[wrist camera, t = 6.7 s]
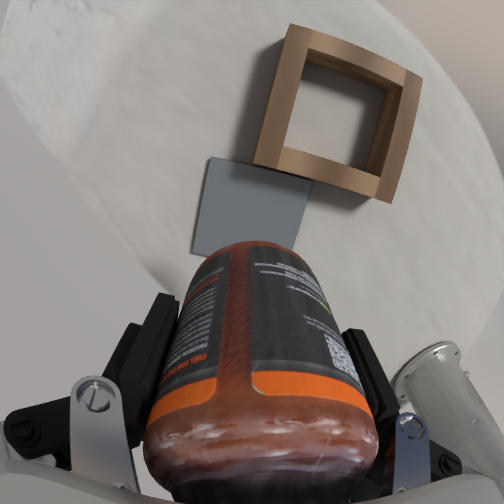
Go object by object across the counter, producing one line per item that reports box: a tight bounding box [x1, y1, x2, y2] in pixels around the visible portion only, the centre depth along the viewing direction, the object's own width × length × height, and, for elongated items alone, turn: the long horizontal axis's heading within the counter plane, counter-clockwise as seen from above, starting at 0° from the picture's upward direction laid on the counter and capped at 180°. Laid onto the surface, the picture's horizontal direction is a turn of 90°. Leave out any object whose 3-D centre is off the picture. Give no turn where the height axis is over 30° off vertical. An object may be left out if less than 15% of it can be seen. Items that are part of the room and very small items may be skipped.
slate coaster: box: [192, 157, 313, 256], centre depth 25 cm, size 9×9×1 cm
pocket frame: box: [253, 23, 423, 204], centre depth 20 cm, size 12×12×4 cm
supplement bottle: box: [143, 241, 379, 504], centre depth 8 cm, size 6×6×11 cm
